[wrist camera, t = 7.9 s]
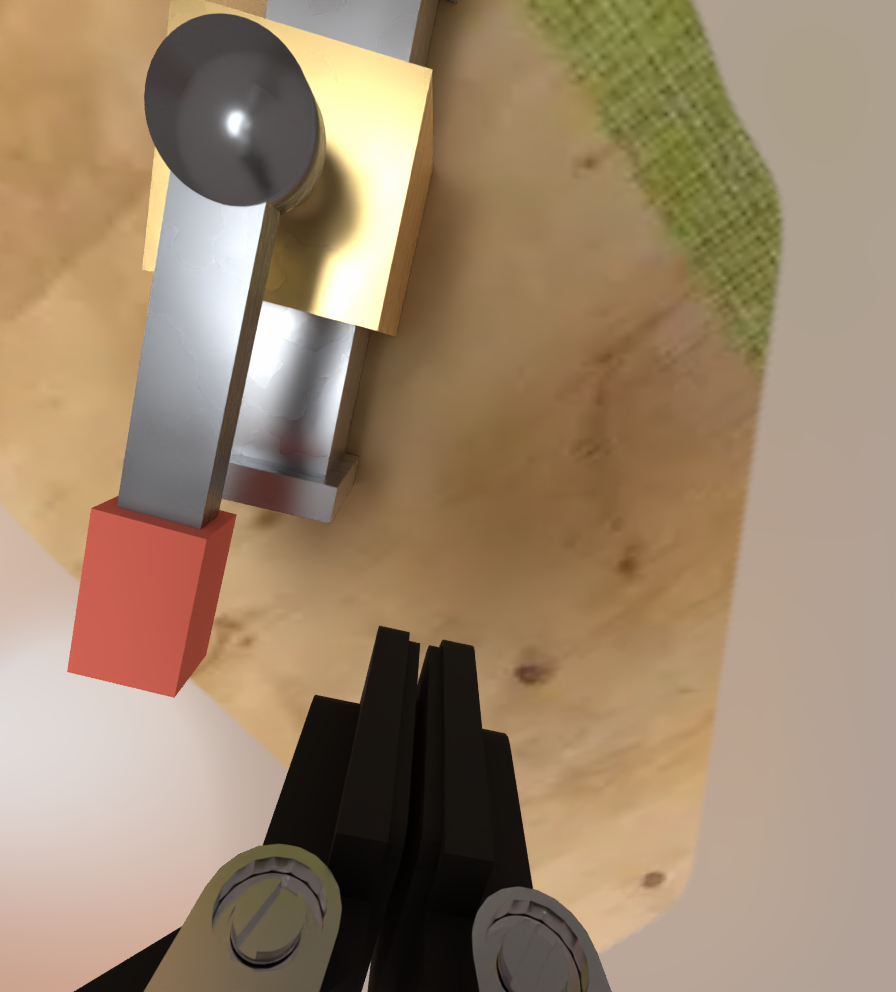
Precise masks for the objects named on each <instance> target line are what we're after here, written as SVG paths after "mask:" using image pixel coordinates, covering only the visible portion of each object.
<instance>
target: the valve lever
mask: <svg viewBox="0 0 896 992" xmlns="http://www.w3.org/2000/svg"><path fill="white" fill-rule="evenodd" d="M144 100H145V113H146V120H147V124H148V128H149V132H150V135H151V137H152V140H153V142H154V145H155V147H156V149H157V151H158V153H159V155H160V156H161V158H162V159H163V161H164V162H165V164H166V165H167V167H168V168H169V169H170V175H169V182H168V188H167V194H166V201H165V207H164V213H163V220H162V226H161V232H160V238H159V245H158V251H157V257H156V264H155V270H154V276H153V282H152V289H151V295H150V301H149V308H148V314H147V320H146V326H145V333H144V339H143V345H142V352H141V358H140V364H139V370H138V377H137V383H136V389H135V396H134V402H133V408H132V415H131V421H130V427H129V433H128V440H127V446H126V452H125V459H124V465H123V471H122V477H121V484H120V490H119V496H117V497H115V498H113V499H111V500H108V501H106V502H104V503H102V504H100V505H98V506H95V507H93V508H91V514H90V521H89V528H88V535H87V541H86V548H85V555H84V562H83V569H82V575H81V582H80V589H79V596H78V603H77V609H76V617H75V624H74V630H73V637H72V643H71V650H70V657H69V664H68V671H67V672H70V673H74V674H79V675H83V676H87V677H91V678H95V679H99V680H103V681H108V682H112V683H116V684H120V685H124V686H129V687H133V688H137V689H141V690H145V691H149V692H153V693H157V694H162V695H166V696H170V697H175V696H176V695H177V693H178V692H179V691H180V689H181V688H182V687H183V685H184V684H185V683H186V681H187V680H188V679H189V677H190V676H191V675H192V673H193V672H194V671H195V669H196V668H197V667H198V665H199V664H200V663H201V661H202V660H203V659H204V657H205V656H206V653H207V648H208V644H209V639H210V635H211V630H212V625H213V621H214V616H215V612H216V607H217V602H218V598H219V593H220V588H221V584H222V579H223V575H224V570H225V565H226V561H227V556H228V552H229V547H230V542H231V538H232V533H233V529H234V524H235V519H236V514H232V513H228V512H225V511H221V510H219V509H220V504H221V499H222V494H223V489H224V485H225V480H226V475H227V470H228V465H229V461H230V456H231V451H232V446H233V441H234V437H235V432H236V427H237V422H238V417H239V413H240V408H241V403H242V398H243V393H244V389H245V384H246V379H247V374H248V369H249V365H250V360H251V355H252V350H253V345H254V340H255V336H256V331H257V326H258V321H259V316H260V312H261V307H262V302H263V297H264V292H265V288H266V283H267V278H268V273H269V268H270V264H271V259H272V254H273V249H274V244H275V240H276V235H277V230H278V225H279V220H280V216H281V215H283V214H285V213H287V212H289V211H291V210H292V209H294V208H295V207H297V206H298V205H299V204H300V203H302V202H303V201H304V200H305V199H306V198H307V196H308V195H309V194H310V193H311V191H312V190H313V188H314V187H315V185H316V183H317V181H318V179H319V177H320V174H321V172H322V168H323V165H324V160H325V154H326V132H325V125H324V120H323V117H322V113H321V110H320V107H319V105H318V103H317V101H316V98H315V96H314V94H313V92H312V90H311V88H310V86H309V84H308V82H307V80H306V78H305V75H304V73H303V71H302V69H301V67H300V66H299V64H298V62H297V60H296V59H295V57H294V56H293V54H292V53H291V52H290V50H289V49H288V48H287V46H286V45H285V44H284V43H283V42H282V41H281V40H280V39H279V38H278V37H277V36H276V35H274V34H273V33H272V32H271V31H269V30H268V29H267V28H265V27H263V26H262V25H260V24H258V23H257V22H254V21H252V20H250V19H248V18H245V17H241V16H238V15H233V14H225V13H216V14H207V15H202V16H199V17H196V18H193V19H190V20H188V21H187V22H185V23H183V24H181V25H180V26H178V27H177V28H176V29H175V30H173V31H172V32H171V33H170V34H169V35H168V36H167V37H166V38H165V39H164V41H163V42H162V43H161V45H160V46H159V48H158V49H157V51H156V53H155V55H154V57H153V59H152V61H151V64H150V67H149V70H148V73H147V78H146V83H145V94H144Z"/></svg>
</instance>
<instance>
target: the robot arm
mask: <svg viewBox="0 0 896 992" xmlns="http://www.w3.org/2000/svg"><path fill="white" fill-rule="evenodd" d="M409 636H410V633H409V632H406V631H401V630H396V629H392V628H387V627H383V626H379V628H378V632H377V636H376V640H375V644H374V648H373V652H372V656H371V660H370V664H369V668H368V673H367V677H366V681H365V685H364V689H363V693H362V697H361V701H360V704H358V703H353V702H348V701H343V700H338V699H333V698H328V697H323V696H318V695H315V696H314V698H313V701H312V703H311V706H310V709H309V712H308V715H307V718H306V721H305V724H304V727H303V729H302V732H301V735H300V738H299V741H298V744H297V747H296V750H295V753H294V756H293V759H292V762H291V764H290V767H289V770H288V773H287V776H286V779H285V782H284V785H283V788H282V791H281V794H280V797H279V800H278V802H277V805H276V808H275V811H274V814H273V817H272V820H271V823H270V826H269V829H268V832H267V834H266V837H265V840H264V843H263V846H258V847H255V848H253V849H250V850H248V851H245V852H243V853H240V854H238V855H237V856H235V857H234V858H233V859H231V860H230V861H229V862H227V863H226V864H225V865H223V866H222V867H221V868H220V869H219V870H218V871H217V873H216V874H215V875H214V876H213V878H212V879H211V880H210V882H209V883H208V884H207V886H206V887H205V888H204V890H203V892H202V894H201V895H200V897H199V899H198V900H197V902H196V904H195V906H194V907H193V909H192V910H191V912H190V914H189V916H188V917H187V919H186V921H185V922H184V924H183V926H182V927H180V928H178V929H177V930H175V931H173V932H172V933H170V934H168V935H167V936H165V937H163V938H162V939H160V940H158V941H157V942H155V943H154V944H152V945H150V946H149V947H147V948H145V949H144V950H142V951H140V952H139V953H137V954H135V955H134V956H132V957H130V958H129V959H127V960H125V961H124V962H122V963H120V964H119V965H117V966H116V967H114V968H112V969H111V970H109V971H107V972H106V973H104V974H102V975H101V976H99V977H97V978H96V979H94V980H92V981H91V982H89V983H87V984H86V985H84V986H83V987H81V988H79V989H77V990H76V991H74V992H361V991H362V988H363V985H364V982H365V978H366V975H367V972H368V968H369V965H370V962H371V966H370V975H369V984H368V992H611V989H610V986H609V984H608V981H607V978H606V975H605V972H604V970H603V967H602V964H601V962H600V959H599V956H598V953H597V951H596V949H595V947H594V945H593V943H592V941H591V939H590V937H589V935H588V933H587V931H586V930H585V929H584V928H583V926H582V925H581V924H580V923H579V921H578V920H577V919H576V917H575V916H574V915H573V914H572V913H571V912H570V911H569V910H568V909H567V908H565V907H564V906H563V905H562V904H560V903H559V902H558V901H557V900H556V899H554V898H552V897H550V896H548V895H546V894H544V893H542V892H540V891H538V890H535V889H533V886H532V880H531V874H530V867H529V861H528V855H527V849H526V842H525V836H524V830H523V823H522V817H521V811H520V805H519V798H518V792H517V786H516V779H515V773H514V767H513V761H512V754H511V748H510V743H509V739H508V736H507V735H506V734H505V733H500V732H495V731H490V730H485V729H482V722H481V712H480V702H479V691H478V681H477V671H476V661H475V650H474V647H473V646H470V645H466V644H461V643H457V642H452V641H447V640H442V641H441V644H440V647H435V646H430V645H429V647H428V649H427V652H426V656H425V659H424V663H423V666H422V670H421V674H420V677H419V681H418V667H419V653H420V643H416V642H411V641H409ZM417 682H418V684H417Z"/></svg>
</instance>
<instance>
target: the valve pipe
mask: <svg viewBox="0 0 896 992" xmlns="http://www.w3.org/2000/svg"><path fill="white" fill-rule="evenodd" d="M448 1H451V2H454V3H457V0H448ZM438 2H439V0H268V3H267V10H266V17H265V18H262V17H258V16H255V15H252V14H249V13H245V12H242V11H239V10H235V9H232V8H229V7H226V6H222V5H219V4H216V3H212V2H209V1H206V0H170V9H169V18H168V28H167V36H168V35H169V34H170V33H171V32H172V31H173V30H175V29H176V28H177V27H178V26H180V25H181V24H183V23H185V22H187V21H188V20H190V19H193V18H196V17H199V16H202V15H207V14H216V13H225V14H233V15H238V16H241V17H245V18H248V19H250V20H252V21H254V22H257V23H258V24H260V25H262V26H263V27H265V28H267V29H268V30H269V31H271V32H272V33H273V34H274V35H276V36H277V37H278V38H279V39H280V40H281V41H282V42H283V43H284V44H285V45H286V46H287V48H288V49H289V50H290V52H291V53H292V54H293V56H294V57H295V59H296V60H297V62H298V64H299V66H300V67H301V69H302V71H303V73H304V75H305V78H306V80H307V82H308V84H309V86H310V88H311V90H312V92H313V94H314V96H315V98H316V101H317V103H318V105H319V107H320V110H321V113H322V117H323V120H324V125H325V132H326V154H325V160H324V165H323V168H322V172H321V174H320V177H319V179H318V181H317V183H316V185H315V187H314V188H313V190H312V191H311V193H310V194H309V195H308V196H307V198H306V199H305V200H304V201H303V202H302V203H300V204H299V205H298V206H297V207H295V208H294V209H292V210H291V211H289V212H287V213H285V214H283V215H281V216H280V220H279V225H278V230H277V235H276V240H275V244H274V249H273V254H272V259H271V264H270V268H269V273H268V278H267V283H266V288H265V292H264V297H263V302H262V307H261V312H260V316H259V321H258V326H257V331H256V336H255V340H254V345H253V350H252V355H251V360H250V365H249V369H248V374H247V379H246V384H245V389H244V393H243V398H242V403H241V408H240V413H239V417H238V422H237V427H236V432H235V437H234V441H233V446H232V451H231V456H230V461H229V465H228V470H227V475H226V480H225V485H224V489H223V494H222V499H226V500H230V501H234V502H239V503H243V504H247V505H252V506H256V507H260V508H265V509H269V510H273V511H278V512H282V513H286V514H291V515H295V516H299V517H304V518H308V519H313V520H317V521H321V522H326V523H330V522H331V521H332V519H333V517H334V516H335V514H336V512H337V511H338V509H339V507H340V506H341V504H342V503H343V501H344V499H345V498H346V496H347V494H348V493H349V491H350V489H351V488H352V486H353V484H354V479H355V475H356V470H357V466H358V461H359V456H355V455H351V454H347V453H345V450H346V445H347V440H348V435H349V430H350V426H351V421H352V416H353V411H354V406H355V402H356V397H357V392H358V387H359V382H360V377H361V373H362V368H363V363H364V358H365V353H366V349H367V344H368V339H369V334H370V330H373V331H377V332H381V333H384V334H388V335H392V336H396V334H397V330H398V325H399V321H400V316H401V312H402V307H403V303H404V298H405V294H406V289H407V284H408V280H409V275H410V271H411V266H412V262H413V257H414V253H415V248H416V243H417V239H418V234H419V230H420V225H421V221H422V216H423V212H424V207H425V203H426V198H427V193H428V189H429V184H430V180H431V175H432V171H433V80H432V69H429V68H425V65H426V60H427V55H428V50H429V45H430V41H431V36H432V31H433V26H434V21H435V17H436V12H437V7H438ZM169 175H170V169H169V168H168V167H167V165H166V164H165V162H164V161H163V159H162V158H161V156H160V155H159V153H158V151H157V149H156V147H155V152H154V162H153V172H152V181H151V191H150V200H149V210H148V220H147V229H146V239H145V248H144V258H143V268H142V269H144V270H147V271H151V272H154V270H155V264H156V257H157V251H158V245H159V238H160V232H161V226H162V220H163V213H164V207H165V201H166V194H167V188H168V182H169Z"/></svg>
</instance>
